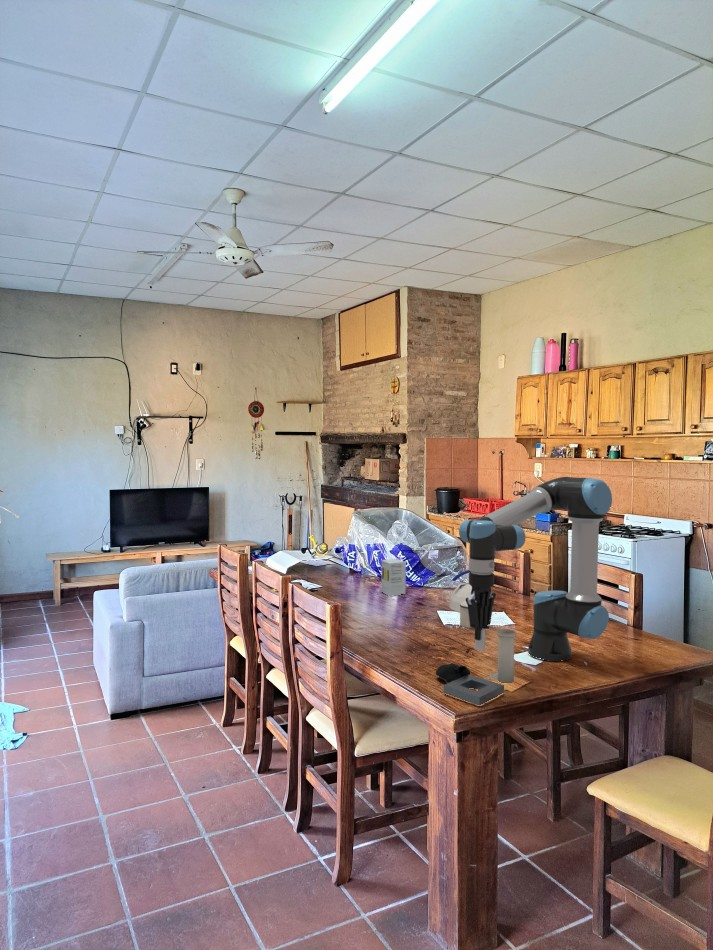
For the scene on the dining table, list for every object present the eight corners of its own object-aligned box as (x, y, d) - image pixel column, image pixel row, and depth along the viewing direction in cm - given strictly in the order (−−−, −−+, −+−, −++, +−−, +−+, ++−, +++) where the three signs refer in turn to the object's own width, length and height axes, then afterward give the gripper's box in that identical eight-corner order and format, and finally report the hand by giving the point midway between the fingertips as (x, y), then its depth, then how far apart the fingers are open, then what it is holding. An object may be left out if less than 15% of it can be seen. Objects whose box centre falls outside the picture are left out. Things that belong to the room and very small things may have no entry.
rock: (460, 701, 206) (432, 688, 206) (462, 675, 214) (435, 663, 213) (474, 686, 201) (445, 674, 200) (476, 661, 208) (448, 648, 208)
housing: (468, 683, 205) (468, 674, 205) (503, 695, 196) (504, 685, 196) (443, 694, 196) (443, 685, 196) (479, 707, 187) (479, 697, 187)
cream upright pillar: (502, 676, 211) (503, 627, 210) (518, 680, 207) (519, 631, 206) (492, 680, 207) (493, 631, 206) (508, 685, 203) (509, 635, 202)
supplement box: (380, 592, 327) (380, 559, 326) (396, 590, 330) (397, 558, 329) (389, 596, 318) (389, 563, 317) (406, 595, 322) (406, 561, 321)
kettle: (503, 611, 292) (503, 571, 291) (463, 615, 285) (463, 575, 284) (478, 600, 311) (479, 563, 310) (440, 604, 303) (441, 566, 302)
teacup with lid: (485, 627, 266) (485, 599, 266) (465, 629, 264) (465, 601, 263) (472, 619, 278) (473, 593, 277) (453, 621, 276) (453, 594, 275)
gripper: (480, 577, 186) (478, 657, 188) (504, 571, 196) (502, 647, 197) (458, 573, 192) (456, 651, 193) (483, 567, 201) (481, 642, 202)
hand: (479, 649), depth 195 cm, fingers closed
